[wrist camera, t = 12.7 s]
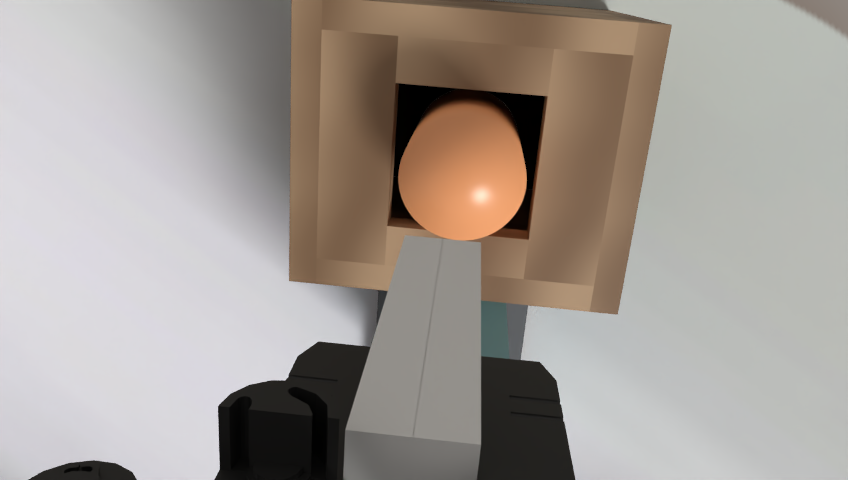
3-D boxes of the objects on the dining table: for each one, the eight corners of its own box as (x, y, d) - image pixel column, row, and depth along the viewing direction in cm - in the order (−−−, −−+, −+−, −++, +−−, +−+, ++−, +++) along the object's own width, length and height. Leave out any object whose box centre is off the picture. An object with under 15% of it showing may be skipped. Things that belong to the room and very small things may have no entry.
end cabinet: (348, 201, 38) (289, 295, 26) (356, -10, 34) (291, -6, 23) (575, 223, 37) (614, 329, 26) (609, 10, 33) (671, 24, 22)
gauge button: (412, 184, 29) (394, 234, 23) (419, 83, 27) (402, 110, 22) (512, 193, 28) (518, 246, 23) (524, 92, 27) (534, 122, 21)
